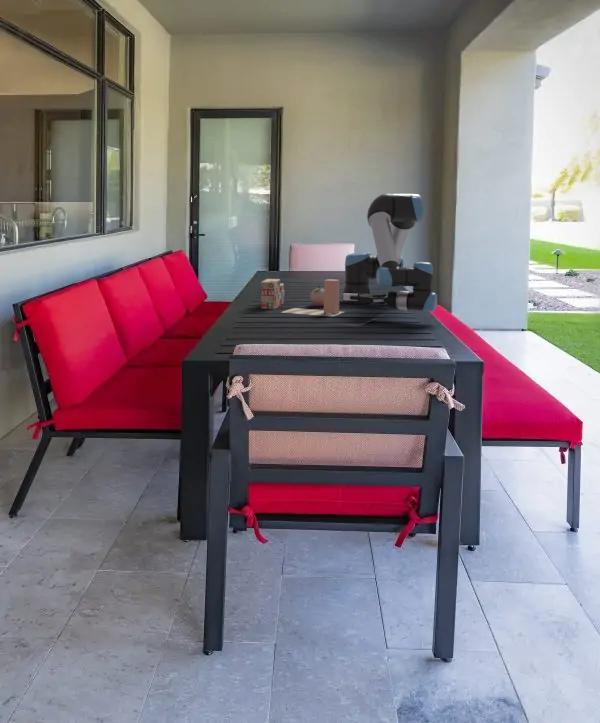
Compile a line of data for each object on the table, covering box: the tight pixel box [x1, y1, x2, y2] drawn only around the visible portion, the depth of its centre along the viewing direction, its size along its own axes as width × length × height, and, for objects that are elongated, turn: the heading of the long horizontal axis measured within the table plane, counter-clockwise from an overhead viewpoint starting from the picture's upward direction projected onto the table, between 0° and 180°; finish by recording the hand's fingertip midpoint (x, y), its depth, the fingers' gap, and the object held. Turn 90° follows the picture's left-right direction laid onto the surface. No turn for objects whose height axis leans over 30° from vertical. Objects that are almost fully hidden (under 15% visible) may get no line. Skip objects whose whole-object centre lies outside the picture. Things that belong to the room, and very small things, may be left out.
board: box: [280, 307, 345, 317], centre depth 325 cm, size 24×14×1 cm, turn 67°
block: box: [323, 278, 341, 314], centre depth 321 cm, size 5×5×14 cm
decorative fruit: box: [309, 285, 324, 307], centre depth 343 cm, size 9×8×10 cm
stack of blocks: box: [260, 278, 285, 310], centre depth 348 cm, size 21×6×12 cm, turn 169°
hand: (343, 296), depth 319 cm, fingers closed
